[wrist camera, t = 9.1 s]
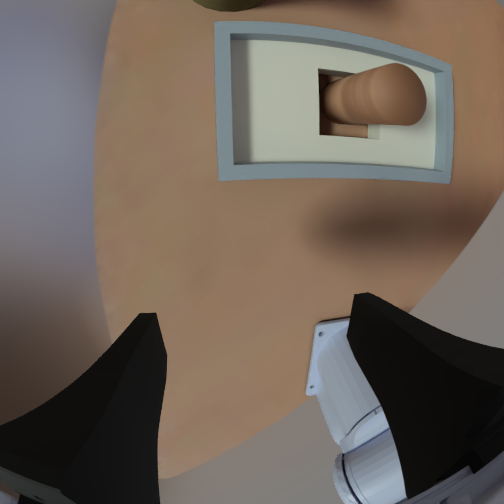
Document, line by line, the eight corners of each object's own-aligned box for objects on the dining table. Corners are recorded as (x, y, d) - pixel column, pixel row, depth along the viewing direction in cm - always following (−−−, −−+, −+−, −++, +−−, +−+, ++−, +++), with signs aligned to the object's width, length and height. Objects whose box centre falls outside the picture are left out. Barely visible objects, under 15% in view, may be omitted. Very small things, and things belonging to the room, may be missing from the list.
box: (427, 176, 19) (450, 184, 16) (218, 174, 17) (218, 181, 15) (427, 68, 15) (451, 64, 13) (214, 37, 14) (214, 21, 11)
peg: (361, 87, 16) (428, 75, 10) (358, 128, 17) (423, 132, 11) (321, 76, 15) (377, 54, 9) (317, 119, 17) (372, 116, 10)
